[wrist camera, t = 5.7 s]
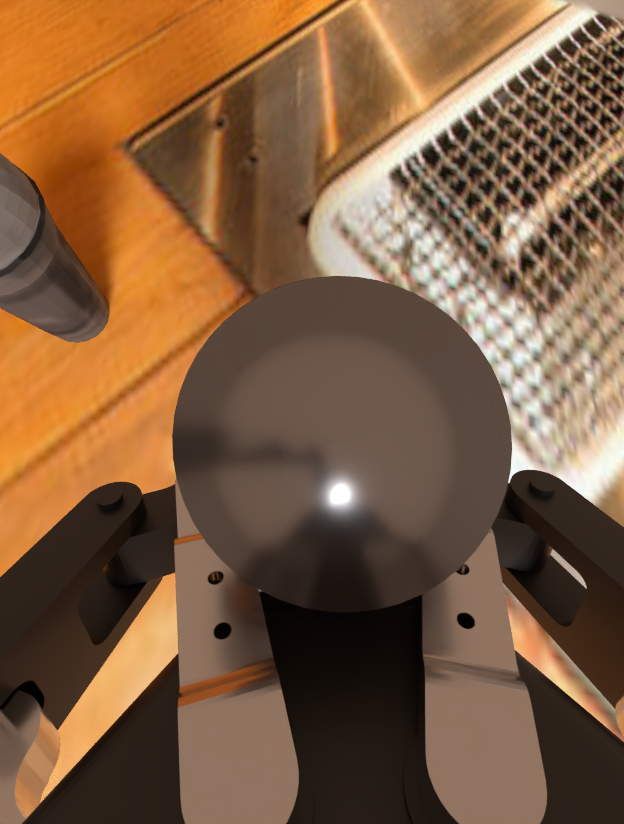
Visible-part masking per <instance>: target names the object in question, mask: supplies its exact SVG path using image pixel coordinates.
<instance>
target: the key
mask: <svg viewBox="0 0 624 824" xmlns="http://www.w3.org/2000/svg"><path fill="white" fill-rule="evenodd" d="M172 437H173V460H174V466H175V472H176V478H177V482H178V485H179V488H180V492H181V495H182V498H183V501H184V504H185V506H186V508H187V510H188V512H189V514H190V517H191V519H192V521H193V523H194V525H195V526H196V528H197V529H198V531H199V532H200V534H201V535H202V537H203V539H204V540H205V542H206V543H207V544H208V545H209V547H210V548H211V549H212V550H213V551H214V552H215V554H216V555H217V556H218V557H219V558H220V559H221V561H223V562H224V563H225V564H226V565H227V566H228V567H229V568H230V569H232V570H233V571H234V572H235V573H236V574H237V575H238V576H239V577H241V578H242V579H244V580H245V581H247V582H248V583H250V584H251V585H253V586H254V587H256V588H257V589H259V590H261V591H263V592H265V593H267V594H269V595H271V596H273V597H275V598H277V599H280V600H282V601H285V602H288V603H291V604H294V605H297V606H301V607H304V608H309V609H315V610H321V611H326V612H351V613H352V612H361V611H370V610H377V609H381V608H385V607H389V606H393V605H397V604H400V603H403V602H405V601H407V600H410V599H412V598H415V597H417V596H419V595H422V594H423V593H425V592H427V591H428V590H430V589H432V588H433V587H435V586H437V585H438V584H440V583H442V582H443V581H444V580H445V579H447V578H448V577H449V576H450V575H452V574H453V573H454V572H455V571H457V570H458V569H459V568H460V567H461V566H462V565H463V564H464V563H465V562H466V561H467V560H468V559H469V557H470V556H471V555H472V554H473V553H474V552H475V551H476V549H477V548H478V547H479V545H480V544H481V542H482V541H483V540H484V538H485V537H486V535H487V534H488V532H489V530H490V528H491V526H492V525H493V523H494V521H495V519H496V517H497V515H498V513H499V510H500V507H501V504H502V502H503V499H504V496H505V493H506V489H507V484H508V479H509V474H510V469H511V455H512V441H511V426H510V420H509V415H508V410H507V405H506V402H505V399H504V396H503V393H502V390H501V387H500V384H499V382H498V380H497V378H496V376H495V374H494V371H493V369H492V367H491V365H490V364H489V362H488V360H487V359H486V357H485V356H484V354H483V353H482V351H481V350H480V348H479V347H478V345H477V344H476V343H475V342H474V341H473V339H472V338H471V337H470V336H469V335H468V333H467V332H466V331H465V330H464V329H463V328H462V327H461V326H460V325H459V324H458V323H457V322H455V321H454V320H453V319H452V318H451V317H450V316H449V315H447V314H446V313H445V312H443V311H442V310H441V309H439V308H438V307H437V306H435V305H434V304H432V303H431V302H429V301H427V300H425V299H424V298H422V297H420V296H418V295H416V294H414V293H412V292H410V291H407V290H405V289H403V288H400V287H398V286H395V285H392V284H388V283H385V282H381V281H378V280H372V279H366V278H360V277H346V276H331V277H318V278H311V279H306V280H302V281H297V282H293V283H290V284H287V285H284V286H281V287H278V288H275V289H273V290H271V291H269V292H267V293H265V294H263V295H261V296H258V297H257V298H255V299H253V300H252V301H250V302H249V303H247V304H246V305H244V306H242V307H241V308H239V309H238V310H237V311H236V312H235V313H233V314H232V315H231V316H230V317H229V318H227V319H226V320H225V321H224V322H223V323H222V324H221V325H220V326H219V327H218V328H217V329H216V330H215V332H214V333H213V334H212V335H211V336H210V337H209V338H208V340H207V341H206V342H205V344H204V345H203V347H202V348H201V349H200V351H199V352H198V354H197V355H196V357H195V359H194V361H193V363H192V365H191V367H190V368H189V370H188V372H187V375H186V377H185V380H184V382H183V385H182V388H181V390H180V393H179V397H178V402H177V406H176V410H175V415H174V425H173V435H172Z"/></svg>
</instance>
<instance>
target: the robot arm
mask: <svg viewBox="0 0 624 824" xmlns="http://www.w3.org/2000/svg"><path fill="white" fill-rule="evenodd" d="M552 549H554V550H555V551H556V552H557V553H558V554H559V555H560V556H561V557H562V558H564V559H565V560H566V561H567V562H568V563H569V564H570V565H571V566H572V567H573V568H574V569H575V570H577V571H578V573H579V574H580V575H581V576H582V578H583V579H584V581H585V583H586V586H587V589H586V588H585V587H584V586H583V585H581V584H580V583H579V582H578V581H577V580H576V579H575V578H574V577H573V576H572V575H571V574H570V573H569V572H568V571H567V570H566V569H565V568H564V567H562V566H561V565H560V564H559V563H558V562H557V561H556V560H555V559H554V558H553V557H552V556H551V555H550V554H551V551H552ZM172 573H175V577H176V603H177V628H178V654H177V655H176V656H175V657H174V658H173V659H172V661H171V662H170V663H169V664H168V665H167V666H166V667H165V668H164V669H163V670H162V671H161V673H160V674H159V675H158V676H157V677H156V678H155V679H154V680H153V681H152V682H151V683H150V685H149V686H148V687H147V688H146V689H145V690H144V691H143V692H142V693H141V694H140V695H139V696H138V698H137V699H136V700H135V701H134V702H133V703H132V704H131V705H130V706H129V707H128V708H127V710H126V711H125V712H124V713H123V714H122V715H121V716H120V717H119V718H118V719H117V720H116V722H115V723H114V724H113V725H112V726H111V727H110V728H109V729H108V730H107V731H106V732H105V734H104V735H103V736H102V737H101V738H100V739H99V740H98V741H97V742H96V743H95V744H94V746H93V747H92V748H91V749H90V750H89V751H88V752H87V753H86V754H85V755H84V756H83V758H82V759H81V760H80V761H79V762H78V763H77V764H76V765H75V766H74V767H73V768H72V769H71V771H70V772H69V773H68V774H67V775H66V776H65V777H64V778H63V779H62V780H61V781H60V783H59V784H58V785H57V786H56V787H55V788H54V789H53V790H52V791H51V792H50V793H49V795H48V796H47V797H46V798H45V799H44V800H43V801H42V802H41V803H40V800H41V796H42V793H43V790H44V789H45V788H46V786H47V784H48V781H49V778H50V775H51V774H52V772H53V770H54V768H55V765H56V763H57V760H58V757H59V753H60V737H59V733H58V731H57V730H58V729H59V727H60V726H61V725H62V723H63V722H64V720H65V719H66V717H67V716H68V714H69V713H70V712H71V710H72V709H73V707H74V706H75V704H76V703H77V702H78V700H79V699H80V697H81V696H82V694H83V693H84V691H85V690H86V689H87V687H88V686H89V684H90V683H91V681H92V680H93V678H94V677H95V676H96V674H97V673H98V671H99V670H100V668H101V667H102V666H103V664H104V663H105V661H106V660H107V658H108V657H109V655H110V654H111V653H112V651H113V650H114V648H115V647H116V645H117V644H118V642H119V641H120V640H121V638H122V637H123V635H124V634H125V632H126V631H127V630H128V628H129V627H130V625H131V624H132V622H133V621H134V619H135V618H136V617H137V615H138V614H139V612H140V611H141V609H142V608H143V606H144V605H145V604H146V602H147V601H148V599H149V598H150V596H151V595H152V594H153V592H154V591H155V589H156V588H157V586H158V585H159V583H160V582H161V580H162V577H163V576H165V575H169V574H172ZM503 583H504V584H505V585H506V587H507V588H508V589H509V590H510V591H511V592H512V593H513V595H514V596H515V597H516V598H517V599H518V600H519V601H520V602H521V604H522V605H523V606H524V607H525V608H526V609H527V610H528V611H529V613H530V614H531V615H532V616H533V617H534V618H535V619H536V620H537V622H538V623H539V624H540V625H541V626H542V627H543V628H544V629H545V631H546V632H547V633H548V634H549V635H550V636H551V637H552V638H553V640H554V641H555V642H556V643H557V644H558V645H559V646H560V647H561V649H562V650H563V651H564V652H565V653H566V654H567V655H568V656H569V658H570V659H571V660H572V661H573V662H574V663H575V664H576V665H577V667H578V668H579V669H580V670H581V671H582V672H583V673H584V674H585V676H586V677H587V678H588V679H589V680H590V681H591V682H592V683H593V685H594V686H595V687H596V688H597V689H598V690H599V691H600V692H601V694H602V695H603V696H604V697H605V698H606V699H607V700H608V701H609V703H610V704H611V705H612V706H613V707H614V708H615V709H616V710H615V712H616V719H617V723H618V726H619V728H620V731H621V733H622V734H623V736H624V527H622V526H621V525H620V524H618V523H617V522H616V521H614V520H613V519H612V518H611V517H609V516H608V515H607V514H605V513H604V512H603V511H601V510H600V509H599V508H597V507H596V506H595V505H593V504H592V503H591V502H590V501H588V500H587V499H586V498H584V497H583V496H582V495H580V494H579V493H578V492H576V491H575V490H574V489H572V488H571V487H570V486H569V485H567V484H566V483H565V482H563V481H562V480H560V479H559V478H557V477H555V476H553V475H551V474H549V473H546V472H542V471H537V470H523V471H519V472H517V473H515V474H514V475H513V476H512V478H511V481H510V483H508V484H507V489H506V493H505V496H504V499H503V502H502V504H501V507H500V510H499V513H498V515H497V517H496V519H495V521H494V523H493V525H492V526H491V528H490V530H489V532H488V534H487V535H486V537H485V538H484V540H483V541H482V542H481V544H480V545H479V547H478V548H477V549H476V551H475V552H474V553H473V554H472V555H471V556H470V557H469V559H468V560H467V561H466V562H465V563H464V564H463V565H462V566H461V567H460V568H459V569H458V570H457V571H455V572H454V573H453V574H452V575H450V576H449V577H448V578H447V579H445V580H444V581H443V582H442V583H440V584H438V585H437V586H435V587H433V588H432V589H430V590H428V591H427V592H425V593H423V594H422V595H419V596H417V597H415V598H412V599H410V600H407V601H405V602H403V603H400V604H397V605H393V606H389V607H385V608H381V609H377V610H370V611H361V612H352V613H351V612H326V611H321V610H315V609H309V608H304V607H301V606H297V605H294V604H291V603H288V602H285V601H282V600H280V599H277V598H275V597H273V596H271V595H269V594H267V593H265V592H263V591H259V589H257V588H256V587H254V586H253V585H251V584H250V583H248V582H247V581H245V580H244V579H242V578H241V577H239V576H238V575H237V574H236V573H235V572H234V571H233V570H232V569H230V568H229V567H228V566H227V565H226V564H225V563H224V562H223V561H221V559H220V558H219V557H218V556H217V555H216V554H215V552H214V551H213V550H212V549H211V548H210V547H209V545H208V544H207V543H206V542H205V540H204V539H203V537H202V535H201V534H200V532H199V531H198V529H197V528H196V526H195V525H194V523H193V521H192V519H191V517H190V514H189V512H188V510H187V508H186V506H185V504H184V501H183V498H182V495H181V492H180V488H179V485H178V482H177V478H176V481H175V484H174V485H173V486H170V487H168V488H165V489H162V490H158V491H154V492H150V493H147V494H143V495H142V493H141V490H140V488H139V487H138V486H136V485H135V484H132V483H129V482H114V483H109V484H106V485H103V486H101V487H99V488H97V489H95V490H93V491H92V492H90V493H89V494H88V495H87V496H86V497H85V498H84V499H82V500H81V501H80V502H79V503H78V504H77V505H76V506H75V507H74V508H73V509H72V510H71V511H70V512H69V513H68V514H67V515H66V516H65V517H63V518H62V519H61V520H60V521H59V522H58V523H57V524H56V525H55V526H54V527H53V528H52V529H51V530H50V531H49V532H48V533H47V534H46V535H44V536H43V537H42V538H41V539H40V540H39V541H38V542H37V543H36V544H35V545H34V546H33V547H32V548H31V549H30V550H29V551H28V552H27V553H25V554H24V555H23V556H22V557H21V558H20V559H19V560H18V561H17V562H16V563H15V564H14V565H13V566H12V567H11V568H10V569H9V570H8V571H7V572H5V573H4V574H3V575H2V576H1V577H0V824H624V742H623V741H622V740H621V739H619V738H618V737H617V736H616V735H615V734H613V733H612V732H611V731H610V730H609V729H608V728H606V727H605V726H604V725H603V724H602V723H600V722H599V721H598V720H597V719H596V718H595V717H593V716H592V715H591V714H590V713H589V712H587V711H586V710H585V709H584V708H583V707H582V706H580V705H579V704H578V703H577V702H576V701H574V700H573V699H572V698H571V697H570V696H569V695H567V694H566V693H565V692H564V691H563V690H561V689H560V688H559V687H558V686H557V685H556V684H554V683H553V682H552V681H551V680H550V679H548V678H547V677H546V676H545V675H544V674H543V673H541V672H540V671H539V670H538V669H537V668H535V667H534V666H533V665H532V664H531V663H530V662H528V661H527V660H526V659H525V658H524V657H522V656H521V655H520V654H519V653H518V652H517V651H515V650H514V644H513V639H512V633H511V627H510V622H509V616H508V610H507V605H506V599H505V593H504V588H503Z"/></svg>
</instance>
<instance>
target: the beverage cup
mask: <svg viewBox="0 0 624 824" xmlns="http://www.w3.org/2000/svg"><path fill="white" fill-rule="evenodd" d="M0 308H1V309H3V310H5V311H7V312H9V313H11V314H13V315H15V316H16V317H18V318H20V319H22V320H24V321H26V322H28V323H30V324H32V325H34V326H36V327H38V328H40V329H42V330H44V331H45V332H48V333H50V334H52V335H54V336H58V337H59V338H61V339H64V340H66V341H68V342H83V341H88V340H90V339H92V338H94V337H96V336H97V335H98V334H99V333H100V332H101V331H102V330H103V329H104V327H105V325H106V324H107V322H108V317H109V308H108V304H107V302H106V300H105V298H104V297H103V295H102V293H101V292H100V290H99V288H98V286H97V285H96V283H95V282H94V280H93V279H92V277H91V276H90V274H89V273H88V271H87V270H86V269H85V267H84V266H83V264H82V263H81V261H80V260H79V258H78V257H77V255H76V254H75V253H74V251H73V250H72V248H71V247H70V245H69V244H68V242H67V241H66V240H65V238H64V237H63V235H62V234H61V232H60V231H59V229H58V228H57V226H56V225H55V222H54V220H53V219H52V217H51V215H50V213H49V211H48V209H47V207H46V205H45V203H44V198H43V196H42V194H41V193H40V191H39V189H38V187H37V185H36V183H35V181H33V180H32V179H31V178H30V177H29V176H28V175H27V174H25V173H24V172H23V171H22V170H21V169H20V168H18V167H17V166H16V165H14V164H13V163H11V162H10V161H9V160H8V159H7V158H6V157H5V156H3V155H2V154H1V153H0Z"/></svg>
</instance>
